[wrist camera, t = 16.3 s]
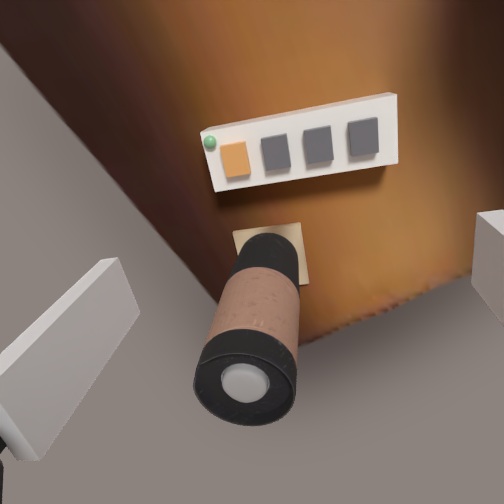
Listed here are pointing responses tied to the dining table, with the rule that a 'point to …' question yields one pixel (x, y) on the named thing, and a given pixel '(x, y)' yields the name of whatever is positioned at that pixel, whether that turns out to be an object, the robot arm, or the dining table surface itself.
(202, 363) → the travel mug
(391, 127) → the socket strip
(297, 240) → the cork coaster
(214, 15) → the dining table surface
